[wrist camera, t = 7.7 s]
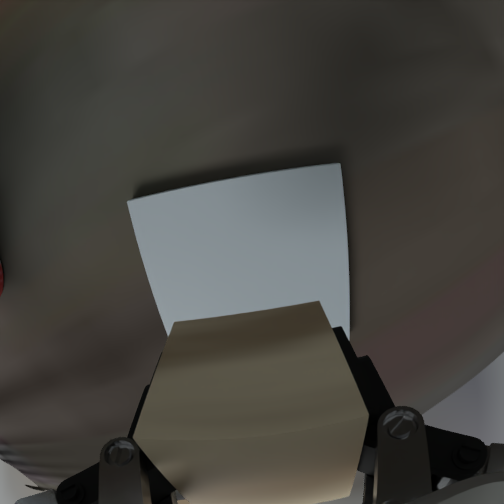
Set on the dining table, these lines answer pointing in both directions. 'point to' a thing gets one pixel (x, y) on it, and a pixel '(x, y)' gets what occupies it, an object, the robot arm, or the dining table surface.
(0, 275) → the mug
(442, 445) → the robot arm
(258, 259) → the pad
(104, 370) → the dining table surface
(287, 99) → the dining table surface
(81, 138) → the dining table surface
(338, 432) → the maple block
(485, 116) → the dining table surface
